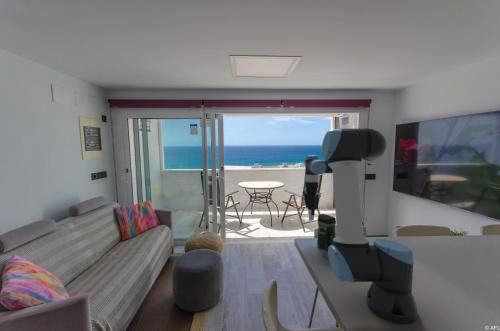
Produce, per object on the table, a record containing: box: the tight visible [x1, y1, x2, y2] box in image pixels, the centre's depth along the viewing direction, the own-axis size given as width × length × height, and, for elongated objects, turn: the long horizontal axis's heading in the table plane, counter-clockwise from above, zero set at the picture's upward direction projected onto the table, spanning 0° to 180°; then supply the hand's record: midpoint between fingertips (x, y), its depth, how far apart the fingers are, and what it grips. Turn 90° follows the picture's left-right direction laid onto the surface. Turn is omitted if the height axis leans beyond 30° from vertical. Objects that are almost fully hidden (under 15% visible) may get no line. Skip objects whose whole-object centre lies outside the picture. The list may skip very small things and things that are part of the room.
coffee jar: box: [316, 213, 336, 251], centre depth 127 cm, size 10×8×19 cm
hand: (311, 219), depth 137 cm, fingers closed
